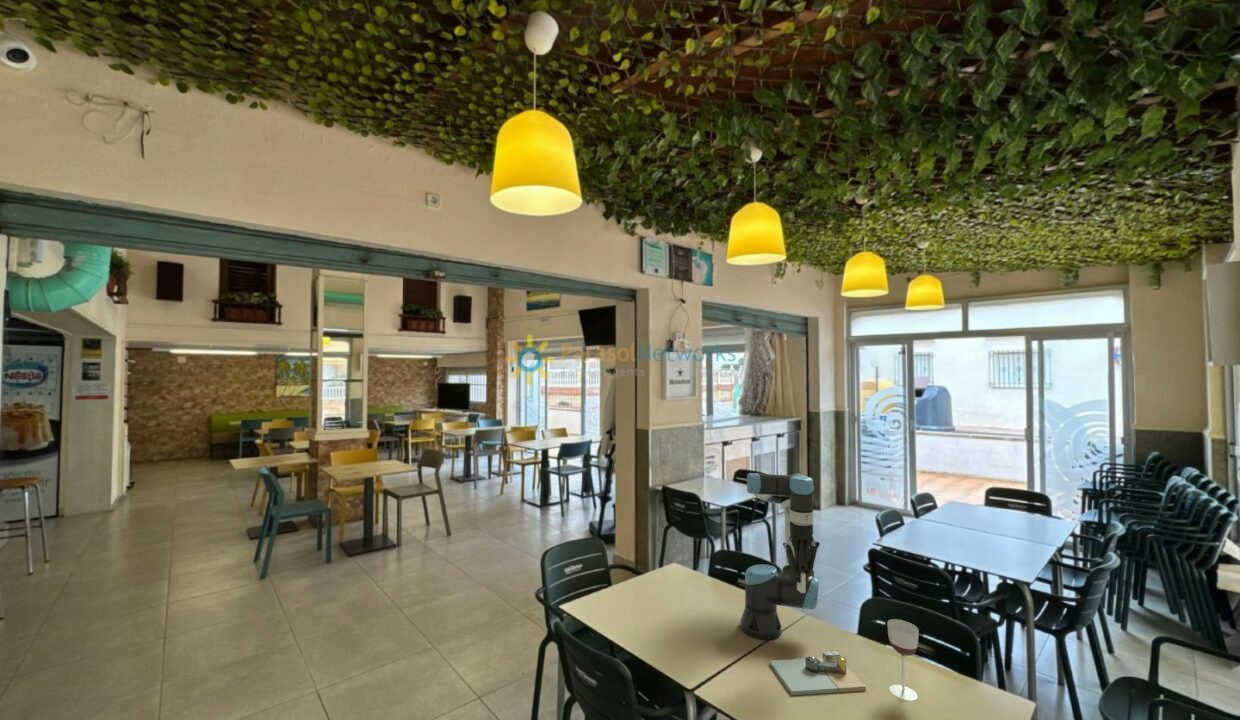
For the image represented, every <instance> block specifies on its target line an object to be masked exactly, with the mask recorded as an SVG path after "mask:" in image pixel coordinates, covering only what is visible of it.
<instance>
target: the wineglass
mask: <svg viewBox="0 0 1240 720" xmlns="http://www.w3.org/2000/svg"><path fill="white" fill-rule="evenodd" d="M887 634H888V640H889V643H890V645H891V647H892V648H893V650H894V651H895V652H897V653H898V654H900V656H901V684H892V685H890V686H889V687H888V688H889V689H888V690H889V691H890V693H891V694H893V696H895V697H896V698H899V699H902V700H904V701H910V702H911V701H915V700H917V699H918V694H917V692H916V691H914V689H912V688H910V687H908V686H906V685H905V684H906V683H905V678H906V677H905V675H906V673H905V671H906V670H905V667H906V666H905V663H906V662H905V661H906V659H905V656H906V657H907V656H912V655H914V654H915V653H916V652H917V649H918V645H919V634H920V632H919V627H917V626H916V625H915V624H913V623H910V622H908V621H906V620H903V619H897V618H896V619H893V618H892V619H888V620H887Z"/></svg>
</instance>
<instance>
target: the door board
mask: <svg viewBox="0 0 1240 720" xmlns="http://www.w3.org/2000/svg"><path fill="white" fill-rule="evenodd" d="M816 658H817V659H818V660H819V661H820V662H823V657H816ZM805 659H806V658H795V659H794V658H793V659H792V658H791V659H777V660H774V659H773V660H769V665H770V666H771V668H772V670H773V671H774V672H775V674H776V675H777V677H778V678H779V680H781V682H782V683H783V685H784V687H785V688H786V689H787V691H788V692H789V693H790V695H791V696H801V695H816V694H831V693H847V692H861V691H867V686H866V685H865V684H864V683H863V682H862V681H861V680H860V678H859V677H858V676H856V675H855V673H853V671H852V670H851V669H850V668H848V667H847V665H846V674H841V673H831V672H820V671H819V672H818V673H813V672H810V671H808V670H807V669H806V666H805Z"/></svg>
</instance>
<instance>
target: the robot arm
mask: <svg viewBox="0 0 1240 720" xmlns="http://www.w3.org/2000/svg"><path fill="white" fill-rule="evenodd" d="M746 491H747V493H749V494H752V495H753V496H754V497H755V498H757V499H759V500H761V501H764V502H767V503H771V504H778V505H779V504H780V508H781V510H782V511H784V530H785V531H784V535H785V536H784V537H785V539H784V540H785V542H783V544H782V546H783V548H784V549H785V565H784V566H783V567H782V570H781V571H778V570H777V567H776V566H774V565H771V564H762V563H761V564H754V565H752V566H749V567H748V568H747V569H746V571H745V577H744V578H745V579H744V583H745V588H744V590H745V591H744V593H745V594H744V595H745V596H744V602H745V603H744V609H743V613H742V614H741V617H740V630H741V631H742V632H743V633H744V634H745V635H747V636H749V637H751V638H753V639H758V640H763V641H764V640H766V641H771V640H775V639H778V638H780V637H781V636H782V629H783V628H782V624H781V620H780V617H779V614H778V611H777V607H778V606H780V607H781V606H783V607H789V608H796V609H802V610H815V609H816V608H817V605H818V599H819V590H820V589H819V587H820V585H819V584H820V577H819V576H817V575H815V570H814V567H815V561H816V558H817V557H816V555H817V552H818V551H817V550H818V548H819V547H820V542H819V541H818V540H816V539H814V537H813V535H814V524H813V523H814V491H815V487H814V479H813V478H811V477H810V476H807V475H803V474H801V473H793V474H791V475H788V474H786V475H785V474H769V473H758V472H754V473H753V472H749V473H747V474H746Z"/></svg>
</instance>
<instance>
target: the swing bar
mask: <svg viewBox="0 0 1240 720" xmlns="http://www.w3.org/2000/svg"><path fill="white" fill-rule="evenodd" d="M817 658H818V657H814V656H806V658H804V659H805V666H806V669H807V670H808V671H810V672H813V673H818V672H819V671H820V672H831V673H841V674H846V666H847V658H846V657H844V656H843V655H840V656H838V657H837V663H829V662H820V661H819V660H818V659H817Z"/></svg>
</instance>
